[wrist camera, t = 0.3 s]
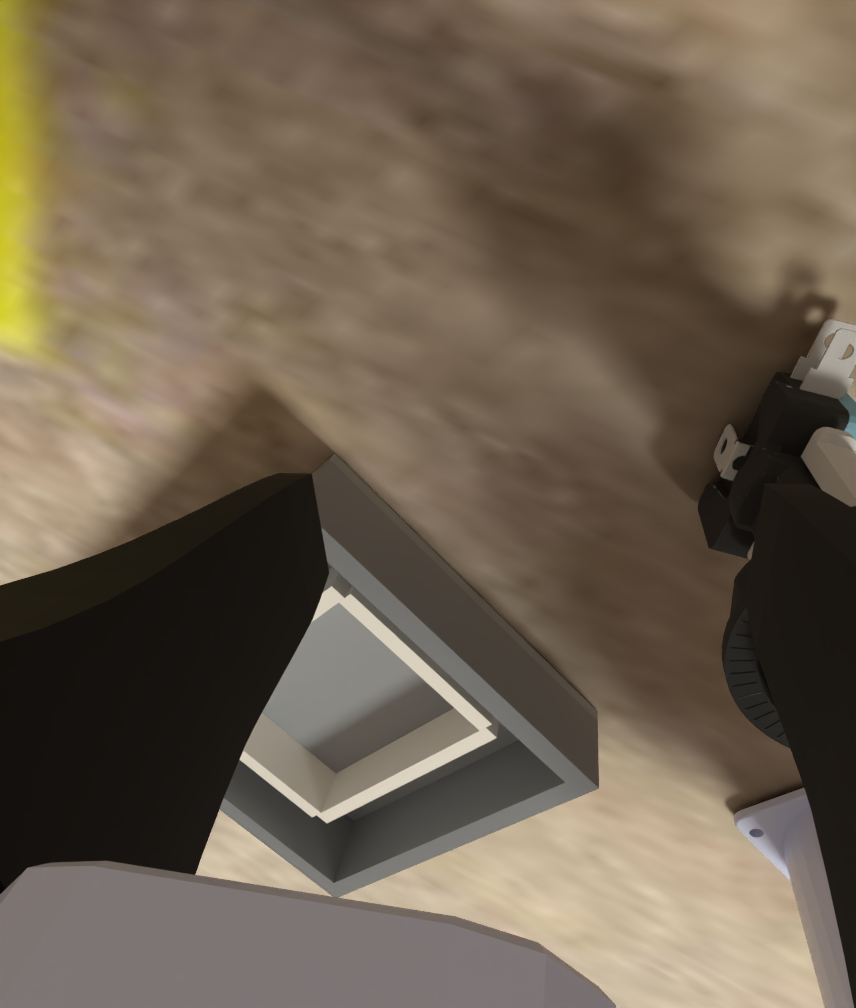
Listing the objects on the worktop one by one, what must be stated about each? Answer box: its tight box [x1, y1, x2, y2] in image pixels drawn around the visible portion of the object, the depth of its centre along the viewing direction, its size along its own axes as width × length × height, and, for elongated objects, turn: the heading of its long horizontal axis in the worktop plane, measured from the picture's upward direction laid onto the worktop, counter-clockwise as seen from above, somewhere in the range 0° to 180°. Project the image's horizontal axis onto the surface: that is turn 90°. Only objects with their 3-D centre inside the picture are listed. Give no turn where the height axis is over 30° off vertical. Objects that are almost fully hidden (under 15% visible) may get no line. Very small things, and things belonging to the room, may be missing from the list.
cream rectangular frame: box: [240, 567, 499, 823], centre depth 26 cm, size 8×10×2 cm
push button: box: [698, 319, 856, 748], centre depth 15 cm, size 7×5×10 cm
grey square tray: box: [220, 453, 599, 898], centre depth 26 cm, size 14×14×4 cm
